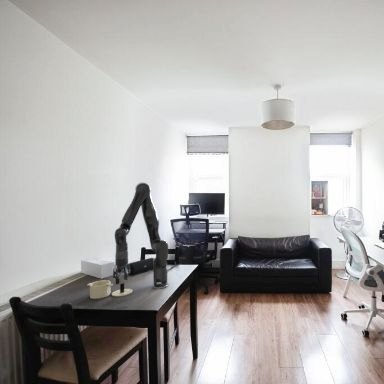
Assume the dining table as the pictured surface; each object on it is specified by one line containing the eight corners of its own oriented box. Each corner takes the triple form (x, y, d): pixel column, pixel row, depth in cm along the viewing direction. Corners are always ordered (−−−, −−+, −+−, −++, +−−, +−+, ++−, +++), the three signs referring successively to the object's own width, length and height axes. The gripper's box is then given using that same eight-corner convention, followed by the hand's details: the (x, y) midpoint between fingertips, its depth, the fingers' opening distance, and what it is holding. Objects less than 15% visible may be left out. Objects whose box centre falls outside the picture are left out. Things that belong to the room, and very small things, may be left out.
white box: (81, 272, 225) (80, 260, 225) (94, 269, 234) (94, 257, 234) (101, 278, 208) (100, 265, 208) (114, 275, 217) (114, 261, 217)
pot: (95, 292, 178) (95, 279, 178) (118, 293, 176) (117, 280, 176) (81, 298, 167) (81, 285, 167) (106, 300, 165) (105, 286, 165)
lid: (119, 290, 182) (119, 279, 182) (136, 290, 180) (136, 280, 180) (107, 297, 170) (107, 286, 170) (124, 297, 168) (124, 286, 168)
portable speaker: (131, 277, 210) (131, 264, 210) (124, 275, 215) (123, 263, 215) (158, 269, 232) (158, 257, 232) (151, 267, 237) (150, 256, 237)
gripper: (120, 260, 167) (120, 285, 167) (133, 255, 181) (133, 278, 181) (109, 259, 168) (109, 285, 168) (123, 254, 182) (123, 278, 182)
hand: (121, 281), depth 174 cm, fingers open, 8 cm apart
